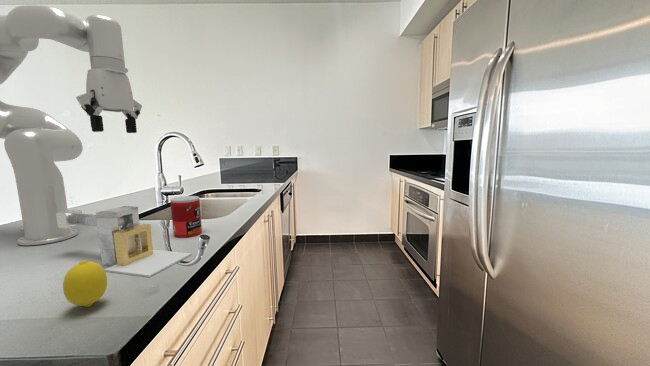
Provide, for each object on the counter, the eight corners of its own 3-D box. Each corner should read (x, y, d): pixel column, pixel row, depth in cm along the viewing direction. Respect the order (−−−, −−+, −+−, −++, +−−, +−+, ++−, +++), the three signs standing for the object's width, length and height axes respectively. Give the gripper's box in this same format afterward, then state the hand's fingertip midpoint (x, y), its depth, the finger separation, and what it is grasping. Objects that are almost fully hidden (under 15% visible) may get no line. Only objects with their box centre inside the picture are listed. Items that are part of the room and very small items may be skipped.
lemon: (83, 298, 50) (77, 255, 49) (116, 296, 51) (111, 253, 49) (57, 317, 45) (49, 269, 44) (94, 315, 45) (88, 267, 44)
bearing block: (102, 264, 64) (95, 212, 63) (129, 253, 71) (124, 206, 69) (116, 266, 63) (109, 213, 62) (142, 254, 70) (137, 206, 68)
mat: (104, 271, 61) (104, 269, 61) (151, 250, 72) (151, 249, 72) (149, 277, 58) (149, 275, 58) (191, 255, 69) (191, 253, 69)
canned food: (191, 238, 82) (188, 200, 80) (167, 237, 83) (163, 200, 82) (207, 230, 89) (205, 196, 88) (184, 229, 91) (182, 195, 89)
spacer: (117, 265, 63) (113, 232, 62) (146, 252, 70) (143, 223, 69) (124, 266, 62) (120, 233, 61) (153, 253, 69) (150, 224, 68)
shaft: (58, 227, 69) (56, 212, 68) (74, 223, 72) (72, 209, 72) (115, 232, 64) (113, 216, 64) (130, 227, 68) (128, 213, 67)
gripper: (127, 76, 86) (133, 133, 88) (61, 60, 70) (71, 131, 72) (147, 74, 84) (152, 133, 86) (84, 57, 68) (93, 130, 70)
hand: (115, 132), depth 79 cm, fingers open, 9 cm apart
